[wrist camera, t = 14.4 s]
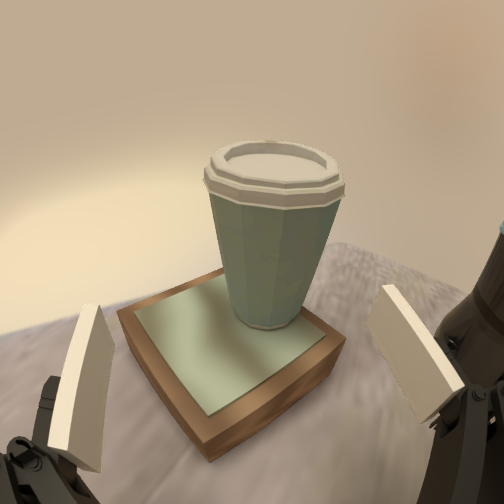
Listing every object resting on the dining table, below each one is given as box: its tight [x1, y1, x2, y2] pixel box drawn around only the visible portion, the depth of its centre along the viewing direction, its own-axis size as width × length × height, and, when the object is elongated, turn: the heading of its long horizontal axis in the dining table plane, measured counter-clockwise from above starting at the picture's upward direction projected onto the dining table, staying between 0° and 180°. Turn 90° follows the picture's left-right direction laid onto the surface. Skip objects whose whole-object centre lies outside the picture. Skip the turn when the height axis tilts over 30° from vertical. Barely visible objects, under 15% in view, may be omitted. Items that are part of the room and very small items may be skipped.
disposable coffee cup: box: [203, 140, 345, 330], centre depth 24 cm, size 11×11×15 cm
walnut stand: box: [117, 268, 346, 463], centre depth 27 cm, size 16×16×6 cm
